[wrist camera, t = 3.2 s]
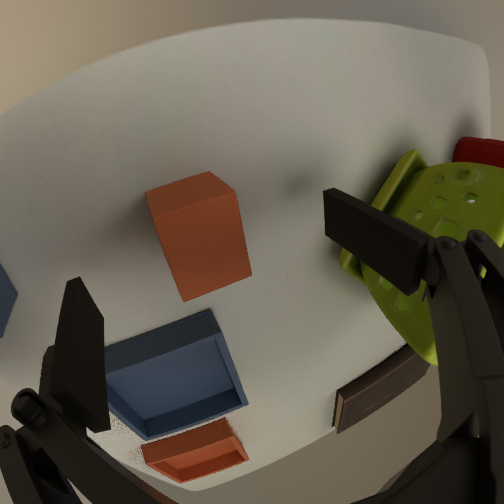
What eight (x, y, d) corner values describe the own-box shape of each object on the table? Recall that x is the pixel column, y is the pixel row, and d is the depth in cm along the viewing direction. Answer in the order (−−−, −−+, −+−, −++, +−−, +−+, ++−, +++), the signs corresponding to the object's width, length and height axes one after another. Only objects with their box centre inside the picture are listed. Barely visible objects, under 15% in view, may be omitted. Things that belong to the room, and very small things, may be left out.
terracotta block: (169, 262, 18) (183, 302, 15) (145, 191, 16) (151, 218, 12) (226, 241, 19) (252, 275, 16) (209, 170, 17) (235, 190, 13)
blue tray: (140, 419, 25) (145, 441, 23) (80, 355, 19) (80, 382, 16) (238, 384, 28) (249, 404, 25) (210, 308, 22) (221, 331, 19)
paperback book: (418, 368, 52) (424, 375, 50) (331, 425, 47) (337, 434, 45) (438, 320, 43) (446, 327, 42) (336, 389, 38) (344, 400, 37)
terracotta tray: (174, 469, 33) (179, 483, 31) (140, 445, 27) (145, 464, 25) (242, 445, 36) (249, 459, 34) (224, 417, 30) (233, 435, 28)
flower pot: (442, 204, 29) (528, 253, 19) (380, 302, 31) (457, 370, 21) (395, 125, 21) (532, 171, 11) (308, 261, 23) (423, 368, 13)
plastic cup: (452, 102, 22) (548, 131, 13) (483, 131, 27) (555, 160, 17) (431, 193, 27) (522, 241, 17) (465, 203, 32) (534, 242, 22)
